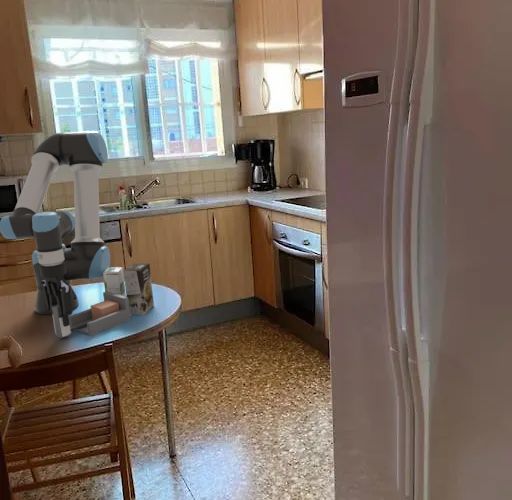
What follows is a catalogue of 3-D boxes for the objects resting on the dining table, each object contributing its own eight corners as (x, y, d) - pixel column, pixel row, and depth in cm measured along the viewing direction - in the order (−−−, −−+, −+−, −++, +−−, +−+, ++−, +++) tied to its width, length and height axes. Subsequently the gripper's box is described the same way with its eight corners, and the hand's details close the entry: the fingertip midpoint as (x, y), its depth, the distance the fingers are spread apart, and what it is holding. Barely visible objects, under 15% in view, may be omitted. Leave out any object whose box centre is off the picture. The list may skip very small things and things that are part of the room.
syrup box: (111, 305, 203) (106, 267, 200) (127, 304, 203) (122, 266, 199) (107, 310, 198) (101, 271, 194) (123, 309, 198) (118, 271, 194)
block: (53, 334, 176) (49, 305, 173) (109, 313, 192) (105, 286, 189) (64, 338, 172) (59, 308, 170) (120, 316, 188) (116, 289, 186)
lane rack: (69, 327, 184) (66, 305, 182) (109, 312, 195) (106, 291, 193) (90, 335, 176) (87, 312, 174) (130, 319, 188) (128, 297, 186)
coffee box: (145, 314, 192) (140, 270, 187) (127, 314, 193) (122, 270, 189) (154, 305, 200) (150, 262, 196) (138, 305, 201) (133, 262, 197)
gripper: (26, 262, 171) (38, 332, 177) (55, 269, 161) (66, 343, 167) (48, 256, 177) (59, 324, 183) (77, 263, 167) (88, 335, 173)
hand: (63, 333), depth 175 cm, fingers closed on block, 3 cm apart
